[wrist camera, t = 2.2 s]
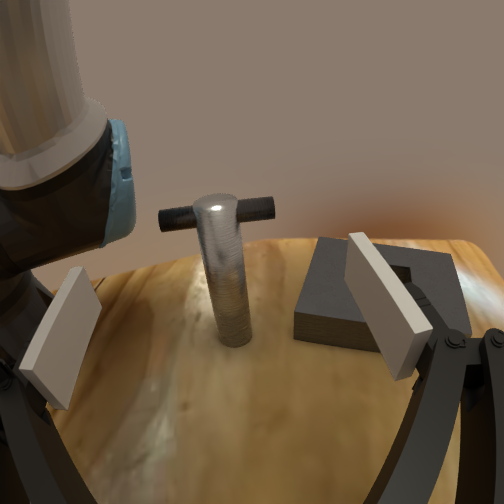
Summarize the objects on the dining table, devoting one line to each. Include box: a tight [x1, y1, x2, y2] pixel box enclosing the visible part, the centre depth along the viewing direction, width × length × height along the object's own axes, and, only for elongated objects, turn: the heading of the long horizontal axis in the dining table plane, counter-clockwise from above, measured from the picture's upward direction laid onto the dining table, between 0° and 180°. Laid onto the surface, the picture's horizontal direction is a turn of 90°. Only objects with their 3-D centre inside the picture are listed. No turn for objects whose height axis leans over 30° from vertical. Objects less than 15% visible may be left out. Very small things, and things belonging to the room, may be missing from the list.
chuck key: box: [158, 194, 275, 347], centre depth 28 cm, size 9×4×15 cm, turn 95°
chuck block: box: [294, 237, 472, 352], centre depth 32 cm, size 18×14×4 cm
